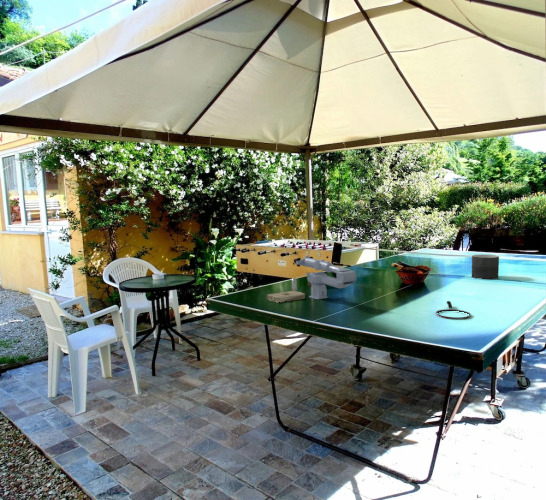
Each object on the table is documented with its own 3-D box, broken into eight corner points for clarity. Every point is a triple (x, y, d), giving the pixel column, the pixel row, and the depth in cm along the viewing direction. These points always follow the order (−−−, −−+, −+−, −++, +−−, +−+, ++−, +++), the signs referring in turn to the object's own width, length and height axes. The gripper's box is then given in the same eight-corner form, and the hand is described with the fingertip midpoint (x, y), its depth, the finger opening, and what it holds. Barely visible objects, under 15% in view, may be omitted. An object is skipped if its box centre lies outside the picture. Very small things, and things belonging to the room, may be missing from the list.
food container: (303, 286, 308) (303, 272, 307) (306, 285, 314) (306, 271, 313) (319, 287, 303) (319, 273, 302) (323, 286, 308) (322, 272, 307)
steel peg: (297, 294, 285) (297, 278, 283) (293, 294, 283) (293, 279, 282) (295, 293, 287) (294, 278, 286) (291, 293, 286) (290, 278, 285)
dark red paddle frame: (431, 306, 245) (431, 300, 244) (463, 306, 241) (463, 300, 240) (437, 319, 218) (437, 312, 217) (473, 320, 214) (473, 314, 213)
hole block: (304, 298, 271) (304, 293, 271) (276, 303, 261) (276, 298, 261) (294, 295, 282) (294, 290, 281) (267, 299, 272) (266, 294, 271)
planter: (466, 276, 329) (466, 255, 328) (485, 274, 335) (486, 254, 333) (484, 280, 312) (484, 258, 311) (504, 278, 318) (504, 256, 316)
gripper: (320, 255, 279) (308, 253, 291) (301, 257, 272) (289, 255, 283) (320, 266, 280) (308, 264, 292) (301, 268, 273) (289, 265, 284)
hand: (299, 260), depth 288 cm, fingers open, 7 cm apart
